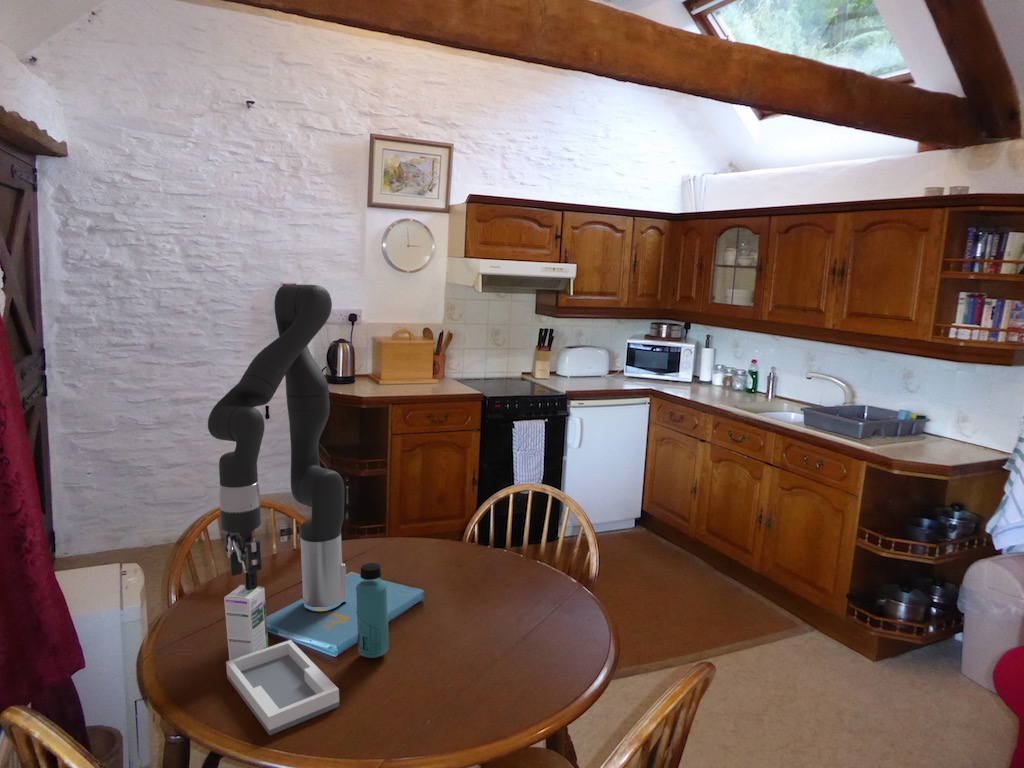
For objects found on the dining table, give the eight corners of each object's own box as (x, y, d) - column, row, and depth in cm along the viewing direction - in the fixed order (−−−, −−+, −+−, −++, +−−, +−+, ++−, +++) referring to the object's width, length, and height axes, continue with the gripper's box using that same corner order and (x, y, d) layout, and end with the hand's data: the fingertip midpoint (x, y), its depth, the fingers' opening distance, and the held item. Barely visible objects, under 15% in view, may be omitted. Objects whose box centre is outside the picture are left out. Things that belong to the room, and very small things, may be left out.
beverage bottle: (395, 651, 150) (393, 561, 146) (379, 668, 143) (377, 574, 140) (367, 645, 152) (365, 556, 148) (351, 662, 145) (348, 569, 142)
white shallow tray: (291, 655, 148) (290, 639, 147) (339, 706, 131) (338, 688, 130) (227, 678, 140) (226, 661, 139) (269, 735, 123) (268, 717, 122)
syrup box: (254, 666, 144) (250, 598, 141) (227, 662, 145) (223, 595, 142) (269, 651, 149) (265, 586, 147) (243, 647, 150) (239, 583, 148)
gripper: (272, 510, 139) (275, 589, 141) (246, 492, 149) (249, 565, 152) (232, 518, 134) (236, 599, 136) (209, 498, 145) (213, 574, 147)
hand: (243, 581), depth 144 cm, fingers open, 8 cm apart
